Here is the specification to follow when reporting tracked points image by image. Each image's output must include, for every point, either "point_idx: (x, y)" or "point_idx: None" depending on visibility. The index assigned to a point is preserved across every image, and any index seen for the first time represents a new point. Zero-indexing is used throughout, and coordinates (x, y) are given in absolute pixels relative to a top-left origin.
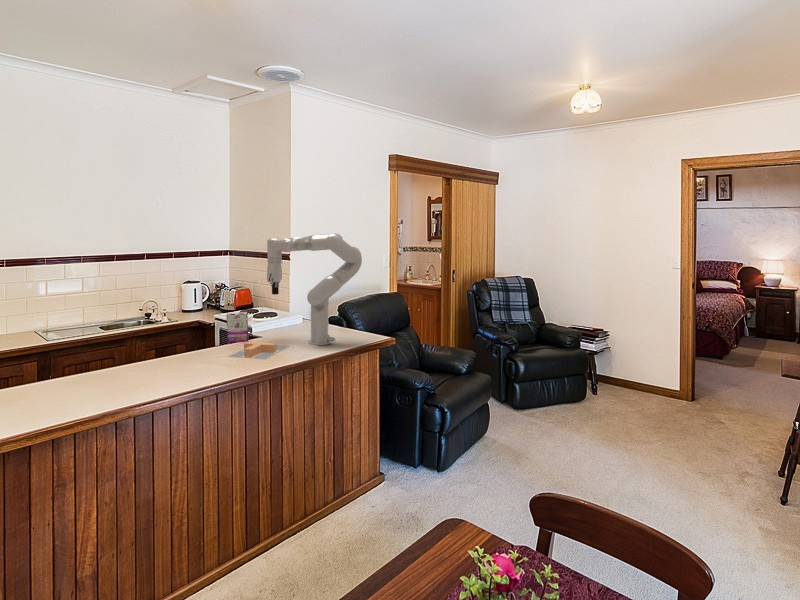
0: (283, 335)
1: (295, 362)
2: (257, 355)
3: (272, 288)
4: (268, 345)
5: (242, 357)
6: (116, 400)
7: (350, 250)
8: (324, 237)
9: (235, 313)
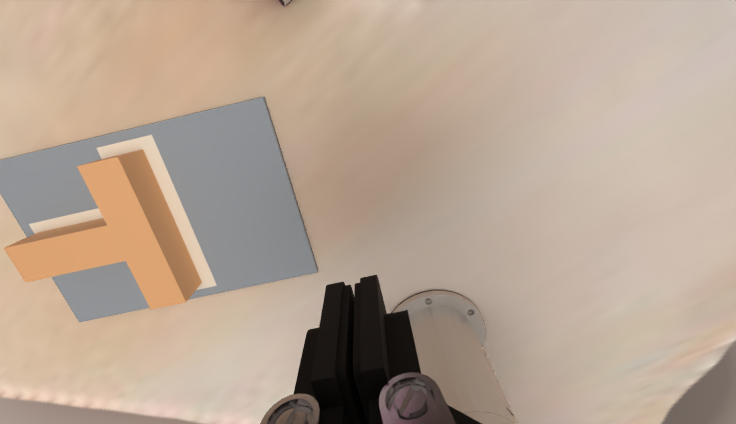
0: (540, 72)
1: (135, 411)
2: None
3: (317, 368)
4: (142, 288)
5: (26, 232)
6: None
7: None
8: None
9: None
